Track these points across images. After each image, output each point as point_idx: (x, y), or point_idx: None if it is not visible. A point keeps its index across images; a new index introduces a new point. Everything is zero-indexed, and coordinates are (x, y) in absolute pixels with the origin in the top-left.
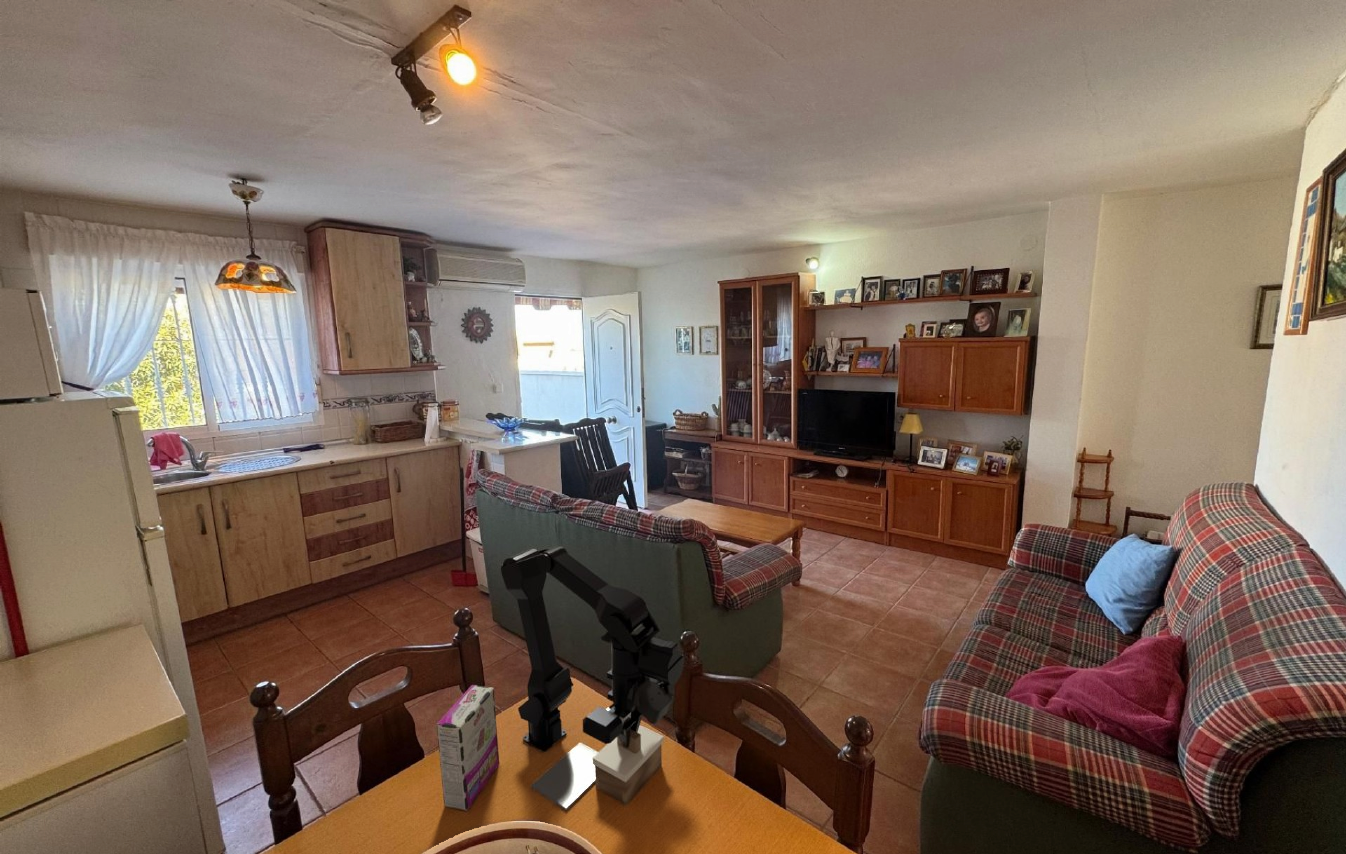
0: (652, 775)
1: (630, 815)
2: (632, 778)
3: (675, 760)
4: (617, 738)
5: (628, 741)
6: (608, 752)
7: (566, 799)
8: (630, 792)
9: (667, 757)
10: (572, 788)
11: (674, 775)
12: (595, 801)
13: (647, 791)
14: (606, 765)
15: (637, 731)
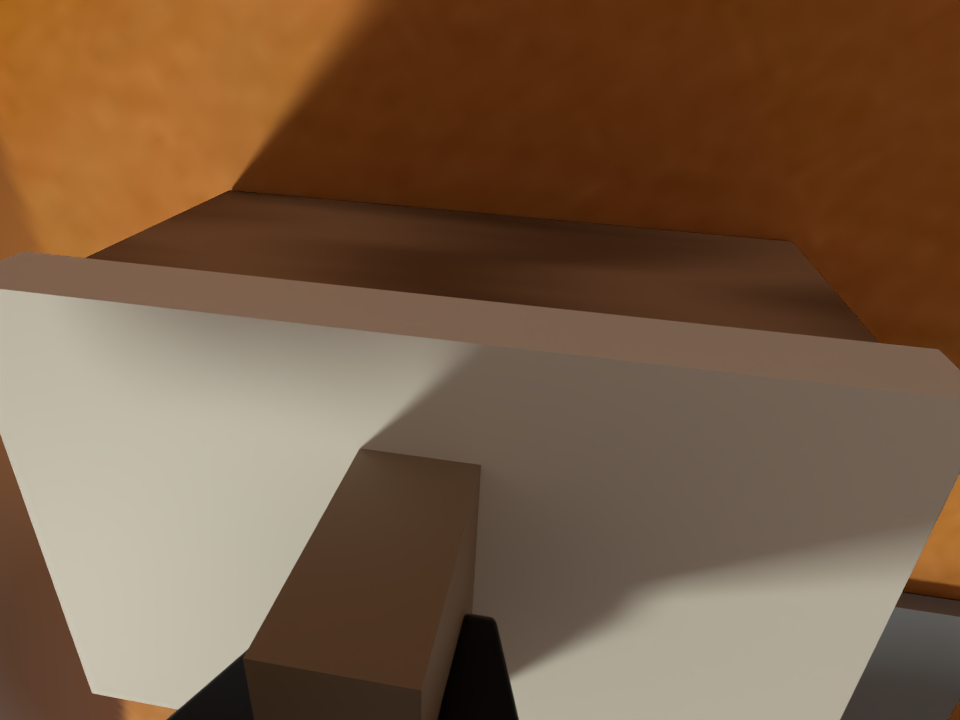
0: (370, 204)
1: (887, 140)
2: (712, 314)
3: (96, 103)
4: None
5: (475, 713)
6: None
7: (919, 652)
8: (731, 262)
9: (124, 192)
10: None
11: (237, 4)
12: None
13: (548, 147)
14: (852, 687)
15: (208, 692)
